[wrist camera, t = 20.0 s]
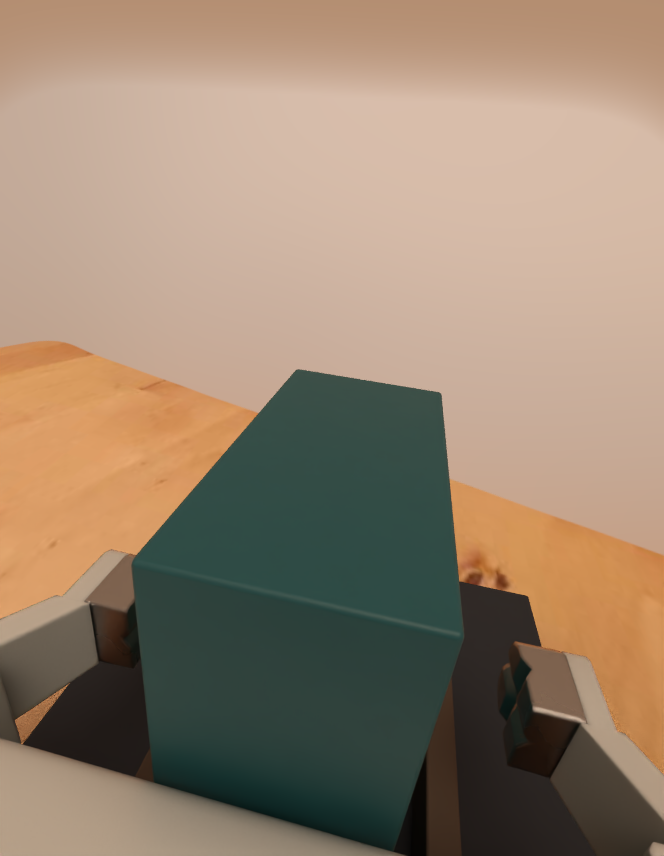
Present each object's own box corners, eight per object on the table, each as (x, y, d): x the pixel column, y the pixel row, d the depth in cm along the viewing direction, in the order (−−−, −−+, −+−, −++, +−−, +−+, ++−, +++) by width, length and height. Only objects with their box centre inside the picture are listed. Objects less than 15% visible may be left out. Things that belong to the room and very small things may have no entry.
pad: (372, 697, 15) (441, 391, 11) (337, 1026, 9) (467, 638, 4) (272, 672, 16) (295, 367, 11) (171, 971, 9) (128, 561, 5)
